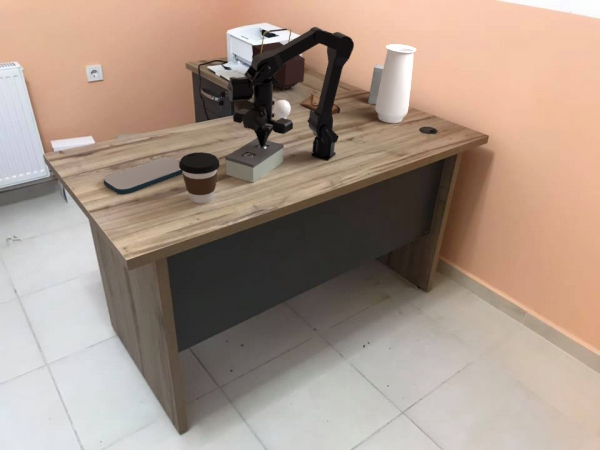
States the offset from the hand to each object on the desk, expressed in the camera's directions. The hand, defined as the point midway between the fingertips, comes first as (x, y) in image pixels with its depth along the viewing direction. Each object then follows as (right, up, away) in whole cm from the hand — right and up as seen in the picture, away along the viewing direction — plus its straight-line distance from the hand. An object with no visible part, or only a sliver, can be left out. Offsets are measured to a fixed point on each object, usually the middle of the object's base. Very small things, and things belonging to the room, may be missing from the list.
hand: (262, 146), depth 158 cm
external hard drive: (-34, -11, -8) cm, 37 cm away
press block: (-2, -7, 0) cm, 7 cm away
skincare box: (+47, +29, +61) cm, 82 cm away
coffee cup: (-16, -18, -18) cm, 30 cm away
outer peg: (-4, -8, -3) cm, 10 cm away
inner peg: (0, -5, +3) cm, 5 cm away
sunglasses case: (+20, +23, +51) cm, 59 cm away
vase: (+49, +18, +45) cm, 69 cm away
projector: (+2, +40, +74) cm, 84 cm away
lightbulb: (+5, +11, +30) cm, 32 cm away
